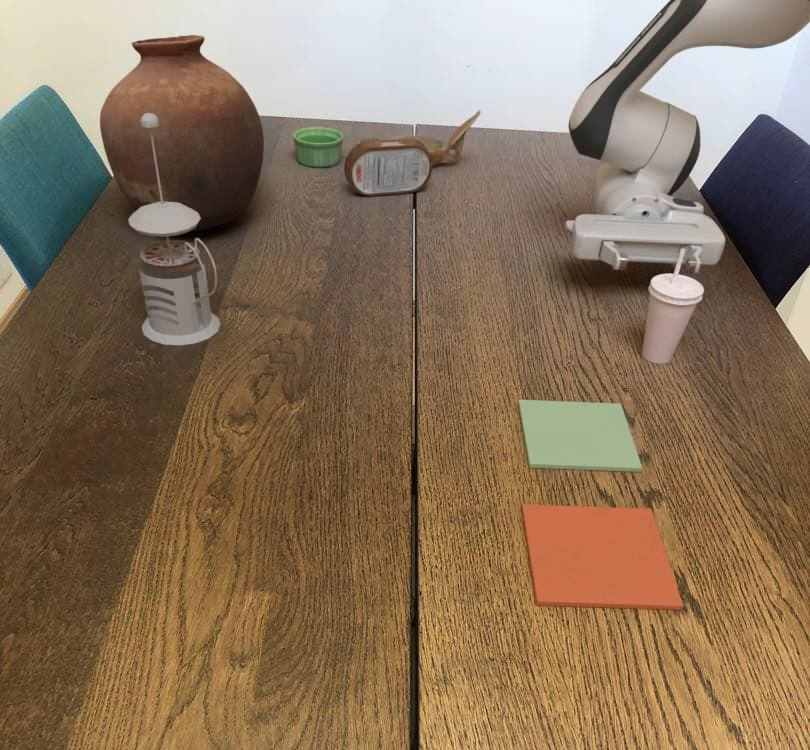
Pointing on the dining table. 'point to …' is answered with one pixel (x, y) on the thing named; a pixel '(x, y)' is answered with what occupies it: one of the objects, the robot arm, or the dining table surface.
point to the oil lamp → (441, 149)
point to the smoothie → (669, 312)
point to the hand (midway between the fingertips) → (657, 266)
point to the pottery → (183, 132)
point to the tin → (388, 167)
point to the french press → (172, 298)
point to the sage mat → (577, 436)
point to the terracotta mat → (598, 558)
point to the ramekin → (318, 146)
